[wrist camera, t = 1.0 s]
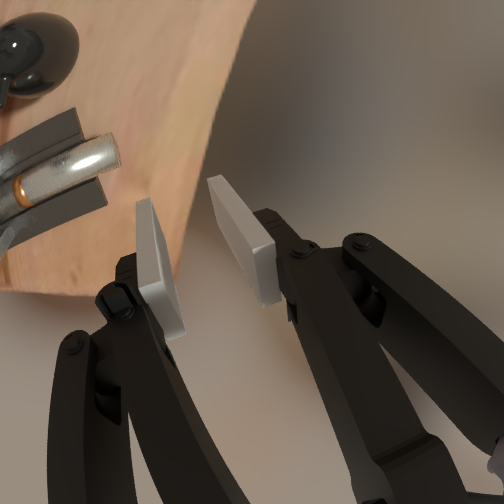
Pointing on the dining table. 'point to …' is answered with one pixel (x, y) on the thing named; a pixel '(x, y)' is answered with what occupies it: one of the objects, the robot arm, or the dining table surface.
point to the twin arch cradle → (58, 205)
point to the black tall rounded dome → (35, 55)
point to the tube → (59, 174)
